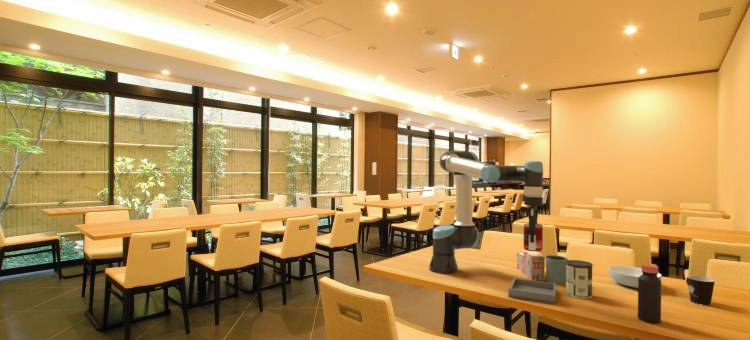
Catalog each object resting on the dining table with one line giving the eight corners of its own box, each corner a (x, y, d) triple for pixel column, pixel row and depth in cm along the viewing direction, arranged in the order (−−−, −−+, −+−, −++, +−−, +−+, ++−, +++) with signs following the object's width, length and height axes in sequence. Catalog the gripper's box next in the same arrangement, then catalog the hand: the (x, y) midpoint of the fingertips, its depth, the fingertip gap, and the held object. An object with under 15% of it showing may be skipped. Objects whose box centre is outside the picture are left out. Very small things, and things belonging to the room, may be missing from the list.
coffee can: (580, 290, 168) (581, 259, 168) (598, 298, 158) (598, 265, 158) (560, 291, 166) (560, 260, 166) (576, 299, 156) (576, 266, 156)
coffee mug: (716, 308, 148) (717, 283, 148) (688, 303, 152) (689, 279, 152) (709, 299, 158) (710, 276, 158) (683, 295, 162) (684, 272, 162)
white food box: (516, 268, 204) (516, 246, 204) (528, 268, 204) (528, 246, 204) (531, 280, 183) (532, 255, 183) (544, 280, 183) (544, 255, 183)
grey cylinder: (542, 281, 180) (542, 257, 180) (548, 277, 188) (549, 253, 188) (564, 286, 173) (565, 261, 173) (570, 281, 181) (571, 257, 181)
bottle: (641, 322, 133) (641, 267, 133) (635, 315, 140) (636, 262, 140) (663, 325, 131) (664, 269, 131) (656, 318, 137) (657, 264, 137)
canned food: (543, 249, 164) (544, 224, 164) (540, 252, 157) (541, 226, 157) (525, 246, 168) (525, 222, 168) (521, 250, 161) (522, 225, 161)
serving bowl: (663, 285, 177) (664, 271, 177) (658, 296, 161) (658, 280, 161) (613, 276, 191) (613, 263, 191) (603, 285, 176) (603, 271, 176)
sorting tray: (508, 296, 158) (508, 288, 158) (513, 285, 174) (513, 277, 174) (555, 304, 150) (555, 295, 150) (555, 291, 166) (556, 283, 166)
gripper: (541, 198, 151) (540, 253, 151) (544, 195, 170) (543, 244, 170) (521, 197, 155) (521, 251, 155) (526, 194, 173) (526, 243, 173)
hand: (532, 247), depth 162 cm, fingers closed on canned food, 8 cm apart
